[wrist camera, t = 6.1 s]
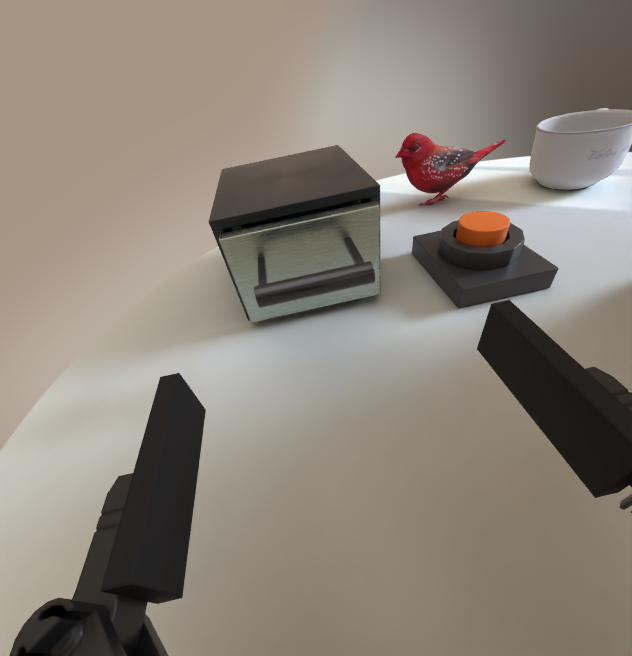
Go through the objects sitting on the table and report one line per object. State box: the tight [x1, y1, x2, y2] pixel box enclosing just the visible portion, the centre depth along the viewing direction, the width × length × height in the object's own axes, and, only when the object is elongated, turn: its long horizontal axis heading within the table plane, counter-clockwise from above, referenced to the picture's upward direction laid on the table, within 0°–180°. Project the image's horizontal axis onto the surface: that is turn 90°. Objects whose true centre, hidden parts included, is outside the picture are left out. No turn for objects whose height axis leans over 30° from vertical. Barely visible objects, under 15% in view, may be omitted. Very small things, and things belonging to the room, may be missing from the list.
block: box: [412, 220, 558, 308], centre depth 31 cm, size 11×9×4 cm
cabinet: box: [209, 145, 380, 320], centre depth 34 cm, size 16×14×11 cm
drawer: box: [219, 200, 380, 322], centre depth 30 cm, size 21×13×9 cm, turn 10°
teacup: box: [530, 108, 632, 190], centre depth 42 cm, size 14×11×8 cm
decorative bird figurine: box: [396, 133, 506, 206], centre depth 42 cm, size 3×18×10 cm, turn 109°
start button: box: [456, 211, 510, 247], centre depth 29 cm, size 4×4×2 cm
